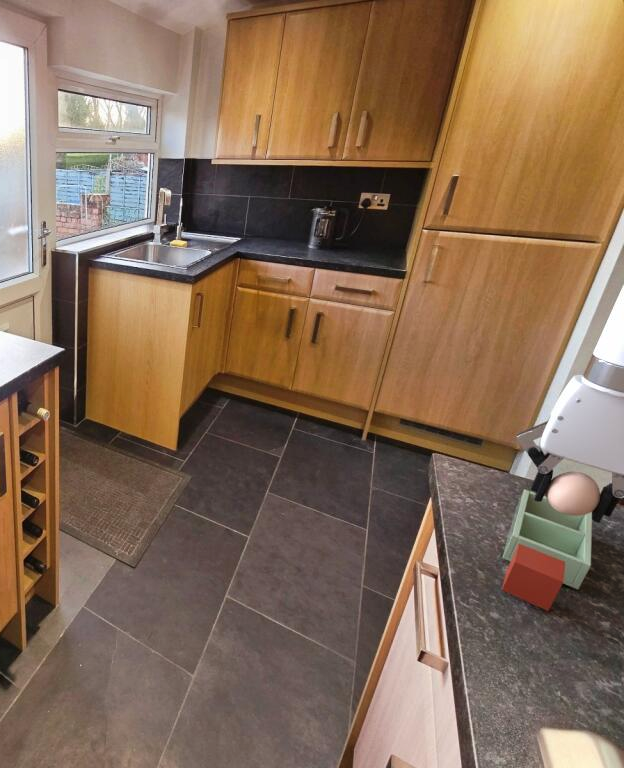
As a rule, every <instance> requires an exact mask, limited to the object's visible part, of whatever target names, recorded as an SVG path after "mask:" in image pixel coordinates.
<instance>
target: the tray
mask: <svg viewBox="0 0 624 768" xmlns="http://www.w3.org/2000/svg"><path fill="white" fill-rule="evenodd" d="M535 493H536V492H535V491H532V490H528V489H523V490H522V493H521V495H520V498H519V500H518V503H517V504H516V507H515V511H514V514H513V518H512V521H511V525H510V528H509V531H508V535H507V539H506V542H505V546H504V550H503V554H502V559H503V560H506V561H509V563H510V562H511V560H512V558H513V555H514V553H515V551H516V549H517V547H518V544H521V545H524V546H526V547H529V548H531V549H534V550H536V551H539V552H541V553H544V554H546V555H549V556H552V557H554V558H557V559H559V560H562V561H564V562H565V571H564V582H563V584H564V585H566V586H568V587H571V588H573V589H576V590H579V589H580V588H581V585H582V583H583V582H584V580H585V578H586V576H587V574H588V573H589V571H590V569H591V567H592V539H593V538H592V537H593V535H592V534H593V533H592V532H593V520H592V512H590V513H588V514H586V515H580V516H571V515H566V514H563V513H560V512H559V511H557V510H555V509H554V508H553V507H552V506H551V505H550V503H549V502H548V501H547V498H546V495H544V497H543V499H542V501H541V502H540V501H539V502H537V501H535V500H534V498H535ZM563 584H562V585H563Z"/></svg>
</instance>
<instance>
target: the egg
mask: <svg viewBox="0 0 624 768" xmlns="http://www.w3.org/2000/svg"><path fill="white" fill-rule="evenodd" d="M600 493H601V490H600V487H599V484H598V483H597V482H596V481H595V479H594V478H592V477H591V476H590V475H588V474H586V473H583V472H580V471H566V472H562V473H559V474H558V475H556V476H554V477H552V480H551V482H550V484H549V486H548V488H547V490H546V493H545V496H546V498H547V501H548V502H549V503H550V505H551V506H552V507H553V508H554V509H555V510H557V511H559V512H560V513H563V514H566V515H571V516H580V515H586V514H588V513H590V512H592V511H593V510H595V509H596V507H597V506H598V504H599V502H600Z"/></svg>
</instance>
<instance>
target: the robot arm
mask: <svg viewBox="0 0 624 768" xmlns="http://www.w3.org/2000/svg"><path fill="white" fill-rule="evenodd" d="M540 438H541V439H540ZM537 439H540V443H539V444H540V446H539V445H537V444H536V442H535V441H534V440H537ZM515 441H516V442H517V443H518V445H519V446H520V447H521V448H522V449H523V450H524V451H525V452H526V453H527V456H528V457H529V459H530V460H531V461H532V463H533V464H534V466H535V467H536V469H537V470H536V471H537V472H536V475H535V476H534V479H533V481H532V483H531V487H530V489H529V491H531V492H534V493H535V498H534V500H535V501H537V502H539V501H540V502H541V501H542V499H543V497H544V496H546V494H545V493H546V490H547V488H548V486H549V484H550V482H551V480H552V479H553V475H554V469H555V467H557V466H558V465H559V464H560V463H561V462H562V461H563V460H564V459H565V460H568V461H571V462H574V463H579V464H581V465H585V466H588V467H590V468H591V467H592V468H595V469H599V470H602V471H606V472H608V473H611V482H610V483H608V484H606V486H603V487H602V489H601V490H600V502H599V504H598V506H597V507H596V509H595V510H593V511H592V522H595V523H598V524H600V523H601V521H602V519H603V517H604V516H606V517H608V518H610V517H611V516H612V514H613V512H614V510H615V508H616V507H617V505H618V503H619V501H620V499H624V284H623V285H622V288H621V289H620V292H619V294H618V296H617V298H616V300H615V303H614V305H613V308H612V309H611V312H610V314H609V316H608V318H607V321H606V323H605V325H604V328H603V330H602V332H601V334H600V336H599V338H598V341H597V343H596V346H595V348H594V350H593V353H592V354H591V357H590V359H589V360H588V363H587V366H586V368H585V370H584V372H583V374H575V375H573V377H572V378H570V380H569V382H568V383H567V384H566V386H565V387H564V388H563V391H562V392H561V394H560V395H559V397H558V399H557V400H556V402H555V404H554V406H553V409H552V410H551V412H550V414H549V416H548V418H547V420H546V421H544V422H542V423H540V424H537V425H535V426H532V427H530V428H528V429H526V430H522V431H520V432H519V433H517V434H516V437H515ZM544 451H545V452H546V453H544Z"/></svg>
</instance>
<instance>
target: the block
mask: <svg viewBox="0 0 624 768" xmlns="http://www.w3.org/2000/svg"><path fill="white" fill-rule="evenodd" d="M564 571H565V562H564V561H562V560H559V559H557V558H554V557H552V556H549V555H546V554H544V553H541V552H539V551H536V550H534V549H531V548H529V547H526V546H524V545H521V544H518V547H517V549H516V551H515V553H514V555H513V558H512V560H511V562H510V561H509V565H508V566H507V569H506V571H505V575H504V578H503V582H502V583H503V584H502V587H501V591H503V592H504V593H507V594H509V595H511V596H513V597H515V598H518V599H520V600H522V601H525V602H527V603H529V604H531V605H533V606H536V607H538V608H540V609H543V610H545V611H547V612H549V611H550V609H551V607H552V605H553V604H554V601H555V600H556V597H557V596H558V593H559V592H560V590H561V588H562V586H563V582H564Z"/></svg>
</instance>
